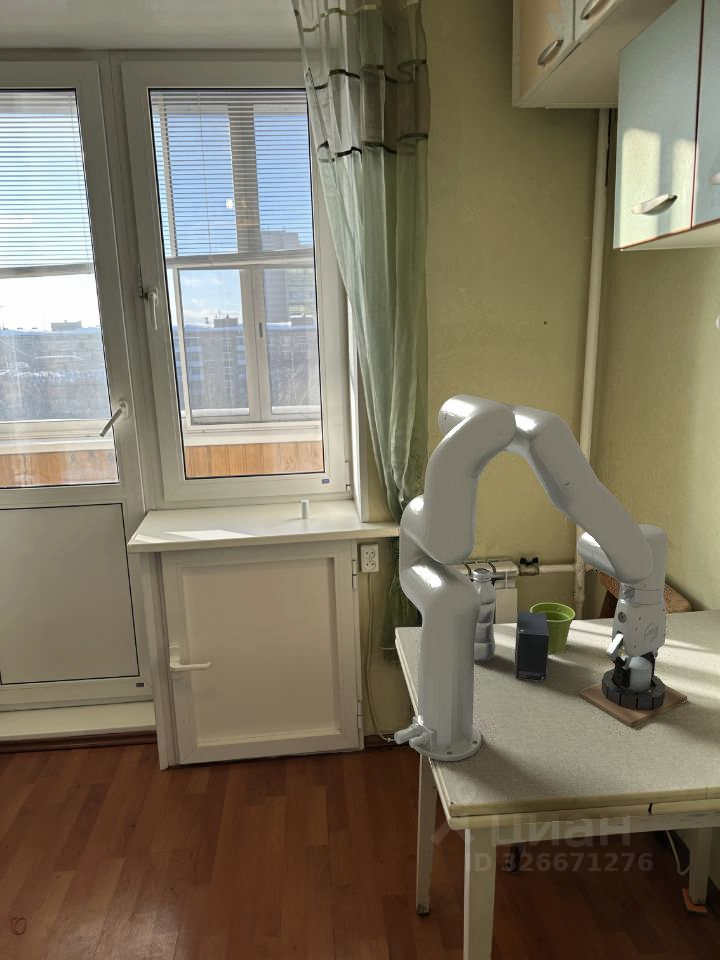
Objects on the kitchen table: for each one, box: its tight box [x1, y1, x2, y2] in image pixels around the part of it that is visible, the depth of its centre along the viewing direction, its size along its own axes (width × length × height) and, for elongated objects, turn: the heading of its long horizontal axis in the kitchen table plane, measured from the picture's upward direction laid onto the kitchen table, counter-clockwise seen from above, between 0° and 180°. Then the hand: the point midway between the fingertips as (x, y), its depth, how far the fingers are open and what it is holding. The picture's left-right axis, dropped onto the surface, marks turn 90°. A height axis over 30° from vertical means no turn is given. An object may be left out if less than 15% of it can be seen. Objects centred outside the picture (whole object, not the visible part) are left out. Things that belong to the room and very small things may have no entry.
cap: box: [617, 656, 652, 693], centre depth 130 cm, size 6×6×5 cm
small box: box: [514, 610, 549, 682], centre depth 142 cm, size 11×6×10 cm, turn 168°
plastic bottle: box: [472, 567, 498, 662], centre depth 145 cm, size 6×7×20 cm
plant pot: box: [529, 602, 576, 655], centre depth 150 cm, size 9×9×9 cm
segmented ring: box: [601, 668, 667, 711], centre depth 131 cm, size 11×11×2 cm
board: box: [578, 682, 688, 729], centre depth 131 cm, size 16×12×1 cm
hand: (633, 678), depth 130 cm, fingers open, 6 cm apart
